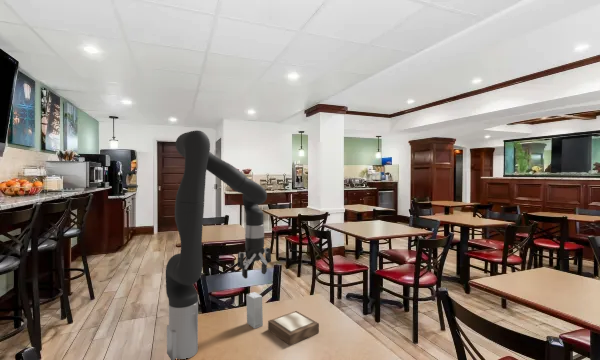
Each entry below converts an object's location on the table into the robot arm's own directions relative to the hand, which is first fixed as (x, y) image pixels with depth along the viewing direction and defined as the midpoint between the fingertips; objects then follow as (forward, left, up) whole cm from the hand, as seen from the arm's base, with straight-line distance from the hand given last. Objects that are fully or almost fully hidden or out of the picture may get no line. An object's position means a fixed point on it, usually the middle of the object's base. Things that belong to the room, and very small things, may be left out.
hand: (254, 275), depth 124 cm
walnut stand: (+9, -14, -20) cm, 26 cm away
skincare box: (0, 0, -20) cm, 20 cm away
